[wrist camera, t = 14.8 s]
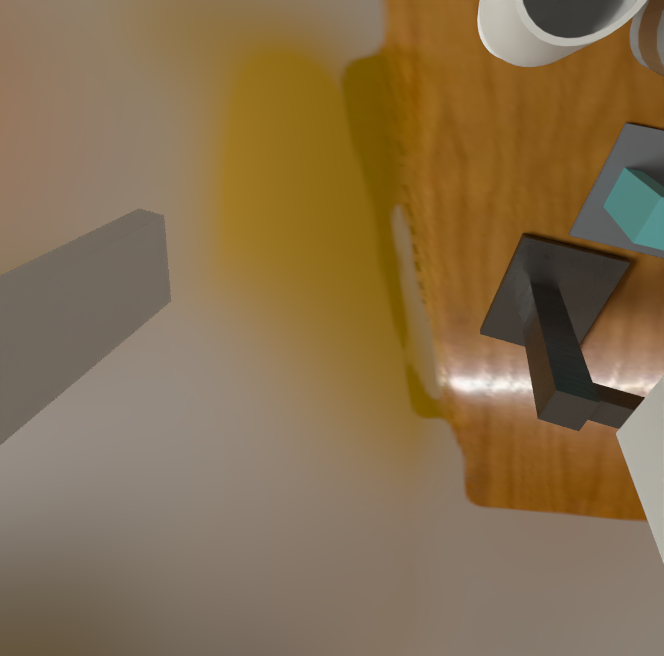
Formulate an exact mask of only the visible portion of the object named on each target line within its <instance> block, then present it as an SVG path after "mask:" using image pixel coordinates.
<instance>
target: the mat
mask: <svg viewBox="0 0 664 656" xmlns="http://www.w3.org/2000/svg"><path fill="white" fill-rule="evenodd" d="M624 167H625V168H629V169H634V170H639V171H643V172H644V173H645V174H647V175H648V176H650V177H651V178H652V179H654V180H655V181H656V182H658V183H659V184H660V185H662V186H663V187H664V130H659V129H654V128H649V127H644V126H639V125H634V124H629V123H625V125H624V127H623V129H622V131H621V133H620V135H619V137H618V139H617V141H616V143H615V145H614V147H613V149H612V151H611V153H610V154H609V156H608V158H607V160H606V162H605V164H604V166H603V168H602V170H601V172H600V174H599V176H598V178H597V180H596V182H595V184H594V186H593V188H592V190H591V192H590V193H589V195H588V197H587V199H586V201H585V203H584V205H583V207H582V209H581V211H580V213H579V215H578V217H577V219H576V221H575V223H574V225H573V227H572V229H571V231H570V233H569V235H570V236H574V237H578V238H582V239H586V240H591V241H595V242H599V243H603V244H607V245H611V246H615V247H619V248H624V249H628V250H632V251H636V252H640V253H644V254H648V255H653V256H657V257H661V258H664V250H660V249H656V248H652V247H648V246H644V245H639V244H635V243H633V242H632V241H631V240H630V239H629V237H628V236H627V235H626V234H625V232H624V231H623V230H622V229H621V228H620V226H619V225H618V224H617V223H616V221H615V220H614V219H613V218H612V216H611V215H610V214H609V213H608V212H607V210H606V209H605V208H604V207H603V206H604V204H605V202H606V200H607V199H608V197H609V195H610V193H611V191H612V189H613V188H614V186H615V184H616V182H617V180H618V178H619V176H620V175H621V173H622V171H623V169H624Z"/></svg>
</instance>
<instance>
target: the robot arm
mask: <svg viewBox="0 0 664 656" xmlns="http://www.w3.org/2000/svg"><path fill="white" fill-rule="evenodd" d="M170 301H171V295H170V283H169V270H168V258H167V247H166V234H165V221H164V215H161V214H157V213H153V212H150V211H146V210H142V209H137V210H135V211H133V212H131V213H129V214H126V215H124V216H122V217H120V218H118V219H116V220H114V221H112V222H110V223H108V224H106V225H104V226H102V227H100V228H98V229H96V230H93V231H91V232H89V233H87V234H85V235H83V236H81V237H79V238H77V239H75V240H73V241H71V242H69V243H67V244H65V245H62V246H60V247H58V248H56V249H54V250H52V251H50V252H48V253H47V254H44V255H42V256H40V257H38V258H36V259H34V260H32V261H29V262H27V263H25V264H23V265H21V266H19V267H17V268H15V269H13V270H11V271H9V272H7V273H5V274H3V275H1V276H0V445H1V444H2V443H3V442H4V441H6V440H7V439H8V438H9V437H10V436H12V435H13V434H14V433H15V432H16V431H17V430H19V429H20V428H21V427H22V426H23V425H24V424H26V423H27V422H28V421H29V420H31V419H32V418H33V417H34V416H35V415H36V414H38V413H39V412H40V411H41V410H42V409H43V408H45V407H46V406H47V405H48V404H49V403H51V402H52V401H53V400H54V399H55V398H57V396H59V395H60V394H61V393H63V392H64V391H65V390H66V389H67V388H68V387H70V386H71V385H72V384H73V383H74V382H76V381H77V380H78V379H79V378H80V377H82V376H83V375H84V374H85V373H86V372H87V371H89V370H90V369H91V368H92V367H93V366H95V365H96V364H97V363H98V362H99V361H101V360H102V358H104V357H105V356H106V355H108V354H109V353H110V352H111V351H112V350H114V349H115V348H116V347H117V346H118V345H119V344H121V343H122V342H123V341H124V340H125V339H127V338H128V337H129V336H130V335H131V334H133V333H134V332H135V331H136V330H137V329H138V328H140V327H141V326H142V325H143V324H144V323H145V322H147V321H148V320H149V319H150V318H152V317H153V316H154V315H155V314H156V313H157V312H159V311H160V310H161V309H162V308H163V307H165V306H166V305H167V304H168V303H169V302H170ZM616 435H617V438H618V441H619V444H620V446H621V449H622V452H623V454H624V457H625V460H626V463H627V465H628V468H629V471H630V473H631V476H632V479H633V482H634V484H635V487H636V490H637V492H638V495H639V498H640V501H641V503H642V506H643V509H644V511H645V514H646V517H647V519H648V522H649V525H650V527H651V530H652V533H653V536H654V538H655V541H656V544H657V546H658V549H659V552H660V555H661V557H662V560H663V563H664V376H663V377H662V378H661V379H660V381H659V382H658V383H657V384H656V385H655V387H654V388H653V389H652V390H651V391H650V393H649V394H648V395H647V396H646V398H645V399H644V400H643V401H642V402H641V404H640V405H639V406H638V407H637V408H636V410H635V411H634V412H633V413H632V415H631V416H630V417H629V418H628V419H627V421H626V422H625V423H624V424H623V425H622V427H621V428H620V429H619V430H618V432H617V433H616Z"/></svg>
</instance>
